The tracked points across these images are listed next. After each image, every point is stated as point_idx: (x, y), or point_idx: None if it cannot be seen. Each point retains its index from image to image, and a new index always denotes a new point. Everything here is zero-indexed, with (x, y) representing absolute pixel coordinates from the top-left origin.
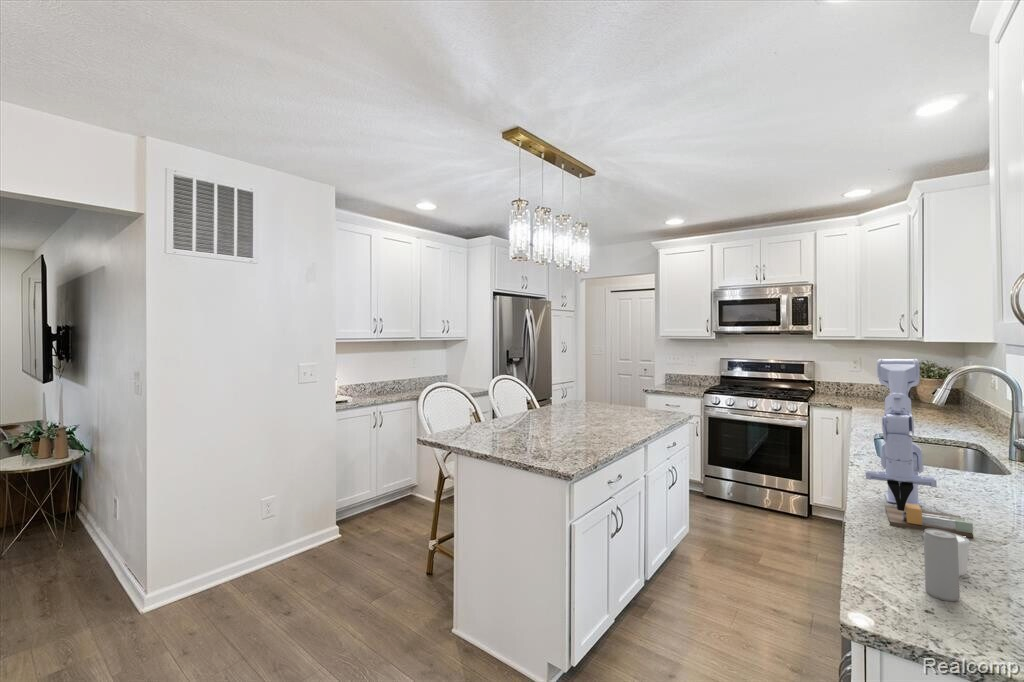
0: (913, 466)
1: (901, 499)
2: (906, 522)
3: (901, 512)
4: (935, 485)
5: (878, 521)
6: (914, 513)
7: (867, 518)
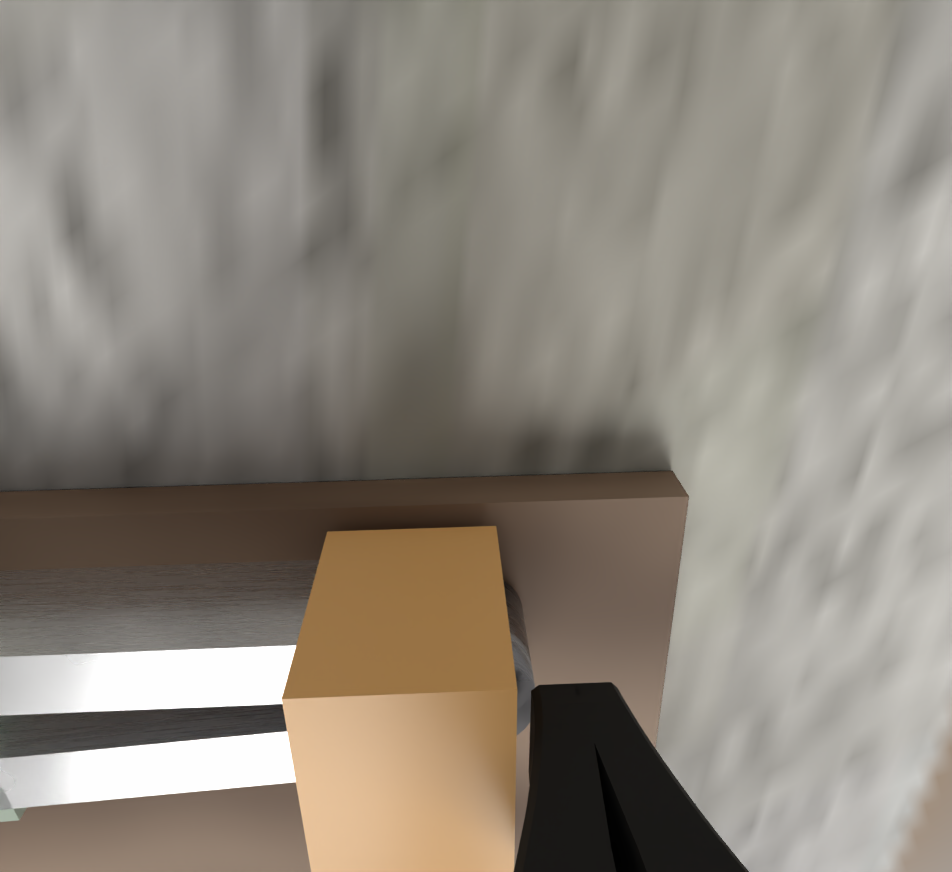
0: None
1: (609, 867)
2: None
3: None
4: None
5: (772, 542)
6: (400, 628)
7: (870, 583)
